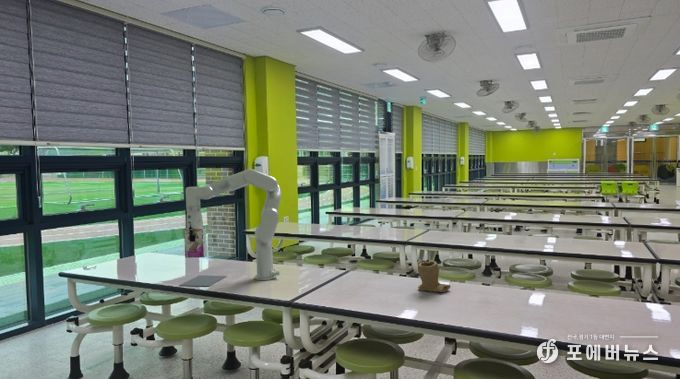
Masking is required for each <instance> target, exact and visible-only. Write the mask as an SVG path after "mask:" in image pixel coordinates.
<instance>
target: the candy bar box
mask: <svg viewBox="0 0 680 379" xmlns="http://www.w3.org/2000/svg"><path fill="white" fill-rule="evenodd" d="M191 229H192V228H191ZM191 231H193V230H191ZM194 235H195V242H190V239H189V233H188V231H187V227H186V228H183V237H184V238H183V240H184V241H183V242H184V257H185V258H188V259H189V258H191V259H192V258H206V257H208V251H207V250H208V248H207V228H206V227H202V228H198V229H195V231H194Z"/></svg>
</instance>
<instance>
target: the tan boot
mask: <svg viewBox="0 0 680 379" xmlns="http://www.w3.org/2000/svg"><path fill="white" fill-rule="evenodd" d="M417 272H418V275H419V277H420V280H421V284H419V285H418V286H417V289H418V290H420V291H426V292H427V291H428V292H437V293H445V292H447V291H449V290H450V288H451V285H450V284H445V283H440V282H439V275H440V274H439V273H440V267H439V264H438V262H436V260H435V261H434V260H431V261H430V260H429V261H422V262H420V263H419V264H418V265H417Z"/></svg>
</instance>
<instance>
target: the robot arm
mask: <svg viewBox="0 0 680 379" xmlns="http://www.w3.org/2000/svg"><path fill="white" fill-rule="evenodd" d="M249 185H252V186H254V187H256V188H259V189H261V190H263V191H265V192H266V197H265V201H264V204H263V208H262V210H261V213H260V218H261V219H260V223H259V225H258V226H257V227H256V228H255V230H254V238H255V254H256V275H255V276H254V279H255V280H257V281H269V280H273V279H275V278H277V276H280V275H281V272H280V271H276V269H275V268H274V257H273V255H274V254H273V250H274V249H273V238H274V236H275V232H276V229H277V227H278V224H279V223H278V222H279V219H280V214H279V213H278V211H279V207H280V203H281V201H282V200H281V199H282V190H281V187H280V185H279V184H278V181H277V179H276V178H275V177H273V176H271V175H268V174H265V173H262V172H261V171H258V170H256V169H254V168H248V169H245V170H242V171H240V172H237V173H234V174H231V175H228V176H226V177H224V178H222V179H219V180H216V181H214V182H211V183H208V184H206V185H204V186H187V187H186V188H185V202H186V203H185V206H186V228H187V231H188V233H189V239H190V242H195V235H194V231H195V229H198V228H204V227H203V226H204V223H203V222H204V221H203V215H202V210H201V208H202V207H201V200H210V199H212V198H213V197H215V196H218V195H220V194H223V193H227V192H233V191H236V190H238V189H241V188H244V187H247V186H249ZM191 228H192V229H191ZM191 230H193V231H191Z"/></svg>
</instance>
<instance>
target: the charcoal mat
mask: <svg viewBox="0 0 680 379" xmlns="http://www.w3.org/2000/svg"><path fill="white" fill-rule="evenodd" d="M225 278H227V275H208V274H207V275H204V274H203V275H197V276H195V277H193V278H191V279H189V280H187V281H185V282H183V283H181V284H179V287H195V288H196V287H197V288H198V287H199V288H201V287H202V288H209V287H211V286H213V285H214V284H217V283H218V282H220V281H221V280H223V279H225Z"/></svg>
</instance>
